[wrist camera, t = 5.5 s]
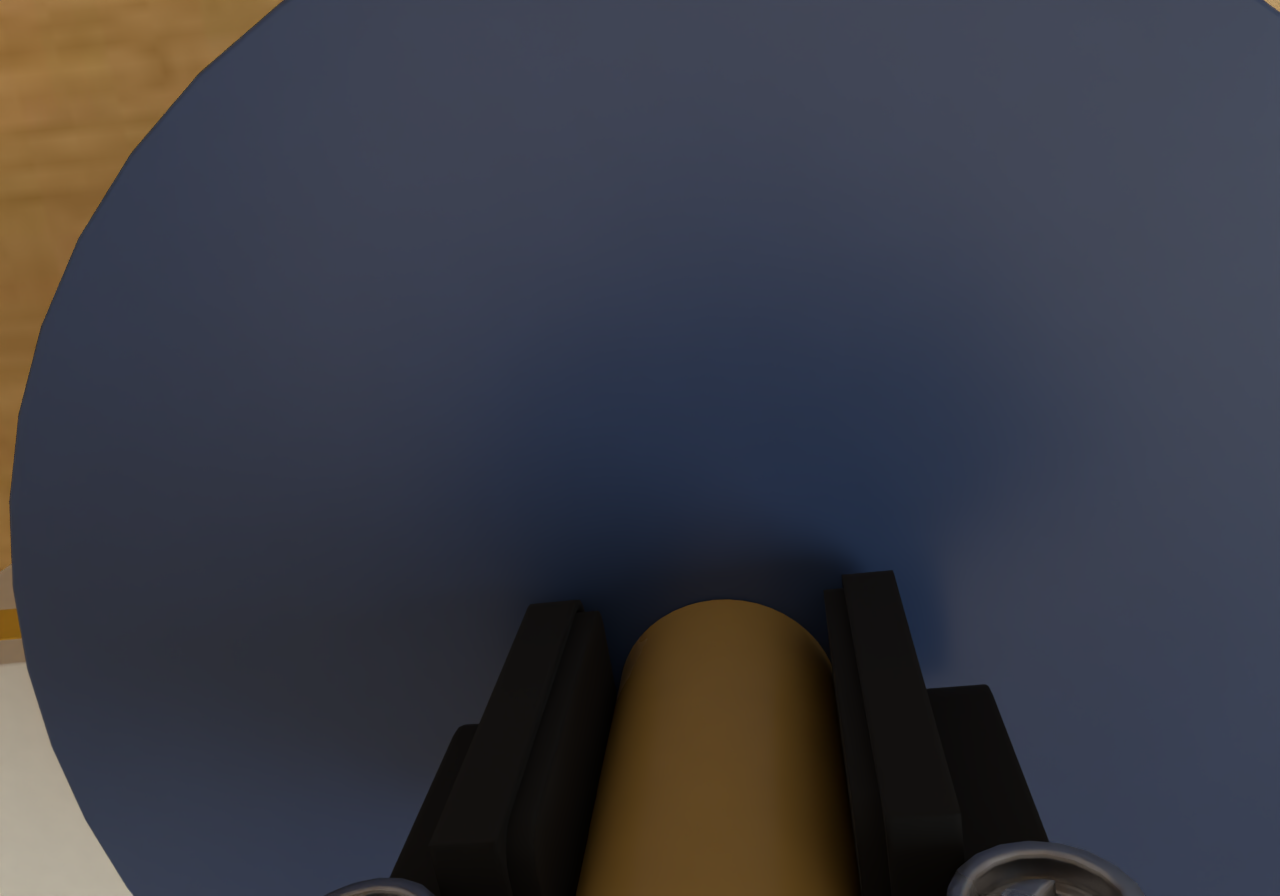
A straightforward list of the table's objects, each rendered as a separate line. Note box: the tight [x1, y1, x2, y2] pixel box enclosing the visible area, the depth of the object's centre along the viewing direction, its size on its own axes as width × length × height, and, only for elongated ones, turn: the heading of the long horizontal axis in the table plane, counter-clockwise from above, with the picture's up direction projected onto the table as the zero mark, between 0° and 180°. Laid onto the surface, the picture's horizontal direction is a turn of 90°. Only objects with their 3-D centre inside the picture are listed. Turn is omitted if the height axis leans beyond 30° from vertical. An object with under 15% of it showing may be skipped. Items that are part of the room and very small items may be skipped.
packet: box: [0, 564, 133, 896], centre depth 26 cm, size 5×8×10 cm, turn 9°
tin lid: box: [9, 0, 1280, 896], centre depth 10 cm, size 17×17×6 cm
